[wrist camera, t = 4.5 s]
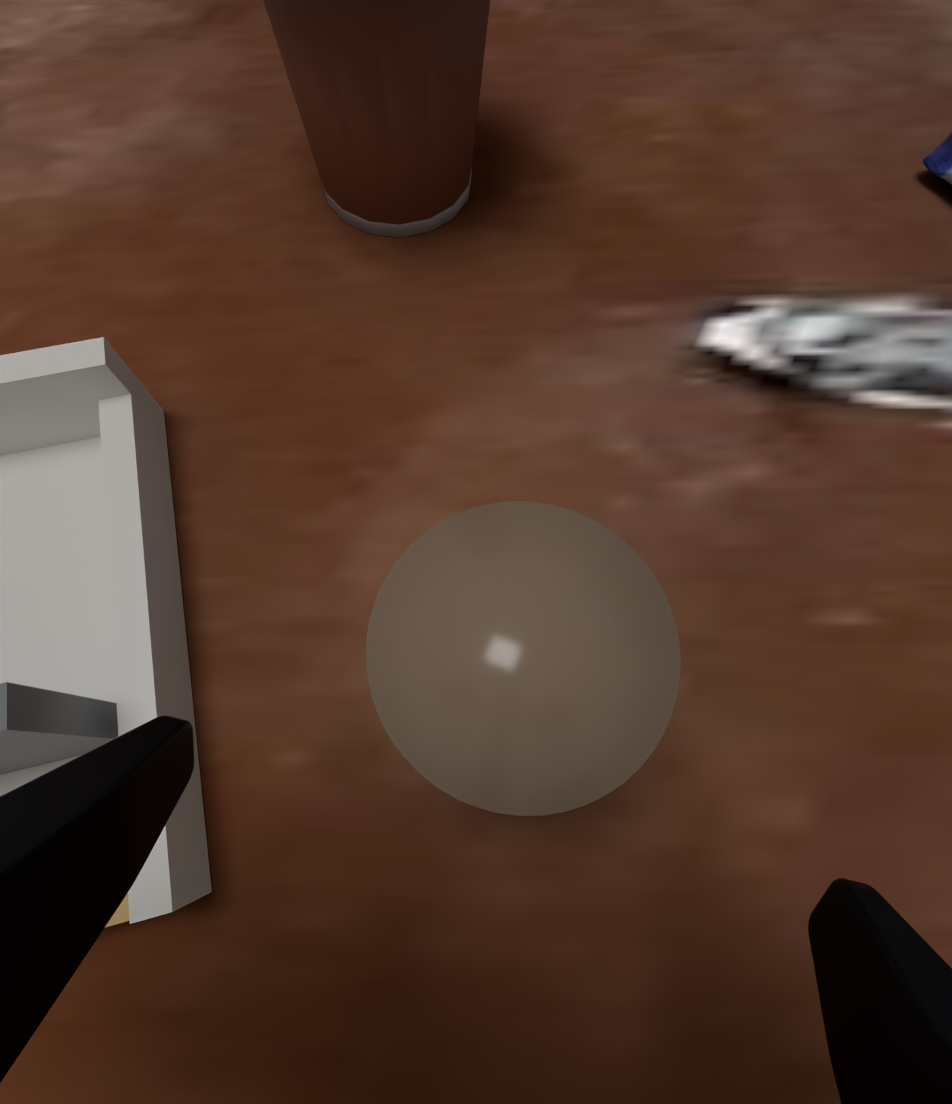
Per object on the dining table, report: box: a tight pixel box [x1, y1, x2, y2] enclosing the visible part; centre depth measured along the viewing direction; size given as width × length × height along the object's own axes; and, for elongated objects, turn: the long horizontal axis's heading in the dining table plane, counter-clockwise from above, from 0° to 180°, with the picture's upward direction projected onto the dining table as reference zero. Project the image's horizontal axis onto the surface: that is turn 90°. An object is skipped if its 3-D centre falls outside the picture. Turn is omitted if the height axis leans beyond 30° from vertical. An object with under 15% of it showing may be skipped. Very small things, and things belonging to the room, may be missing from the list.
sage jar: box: [366, 501, 681, 816], centre depth 15 cm, size 6×6×8 cm
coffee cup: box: [264, 0, 490, 238], centre depth 21 cm, size 9×9×12 cm
